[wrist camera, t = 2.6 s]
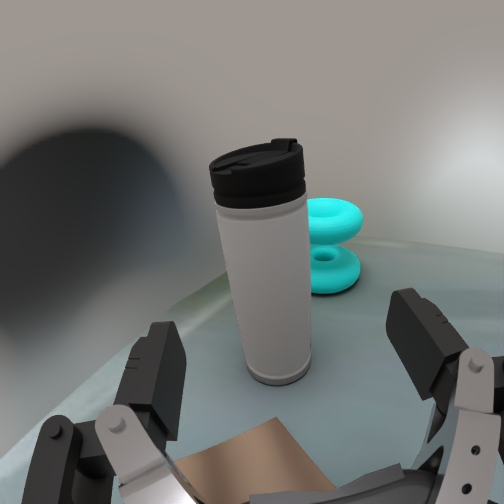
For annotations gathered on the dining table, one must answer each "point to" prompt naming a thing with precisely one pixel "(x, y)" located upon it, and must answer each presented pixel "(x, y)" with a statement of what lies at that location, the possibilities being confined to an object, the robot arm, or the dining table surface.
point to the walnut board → (253, 466)
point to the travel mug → (267, 254)
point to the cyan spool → (332, 244)
